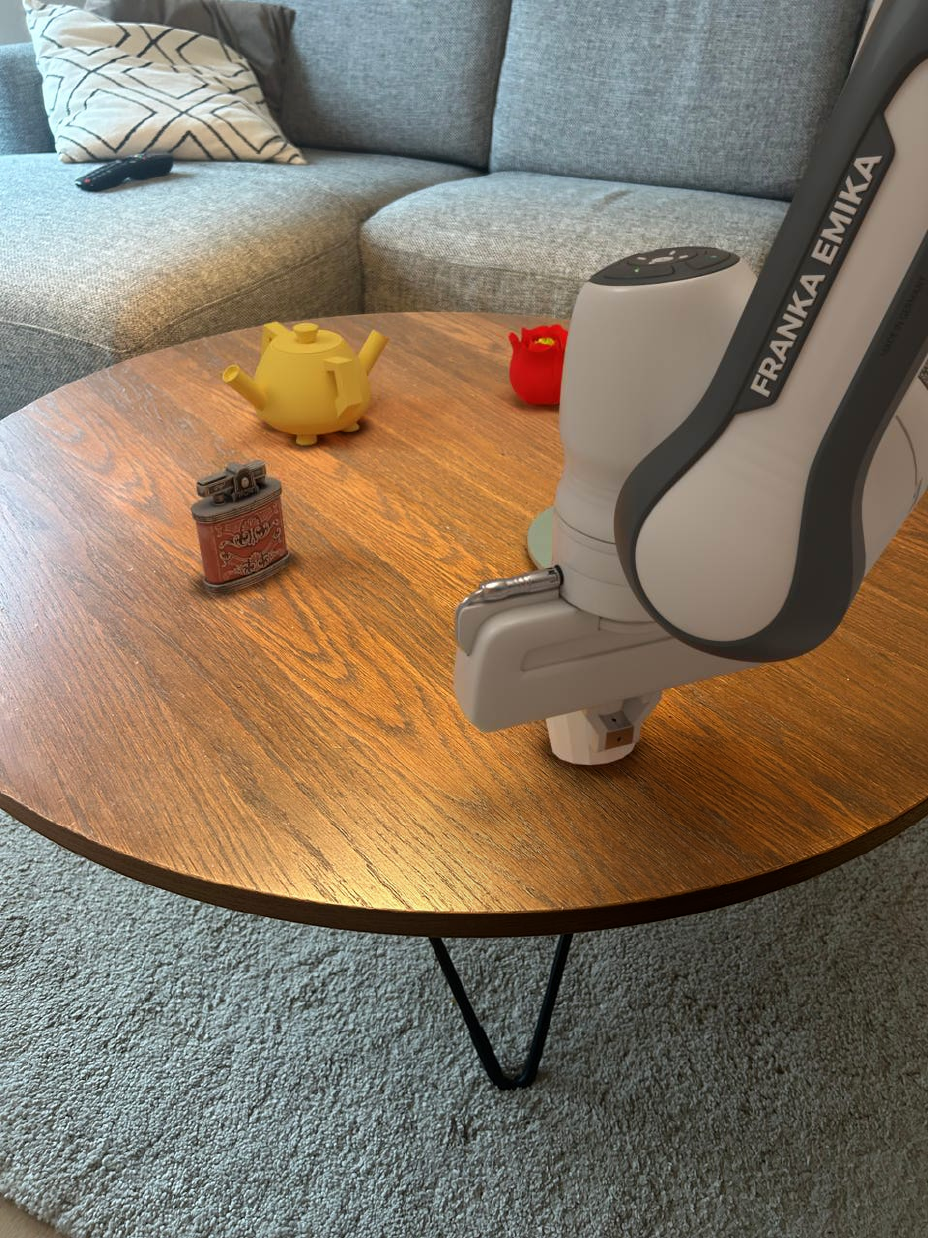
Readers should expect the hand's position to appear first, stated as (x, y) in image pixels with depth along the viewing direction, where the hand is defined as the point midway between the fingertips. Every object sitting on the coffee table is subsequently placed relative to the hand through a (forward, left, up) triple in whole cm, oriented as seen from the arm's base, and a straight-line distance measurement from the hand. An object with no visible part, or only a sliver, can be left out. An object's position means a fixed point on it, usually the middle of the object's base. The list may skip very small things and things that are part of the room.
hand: (611, 741), depth 63 cm
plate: (+25, -14, -3) cm, 29 cm away
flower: (+59, -20, -3) cm, 62 cm away
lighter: (+33, +18, -3) cm, 37 cm away
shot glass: (+3, 0, -3) cm, 4 cm away
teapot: (+61, +6, -3) cm, 61 cm away
